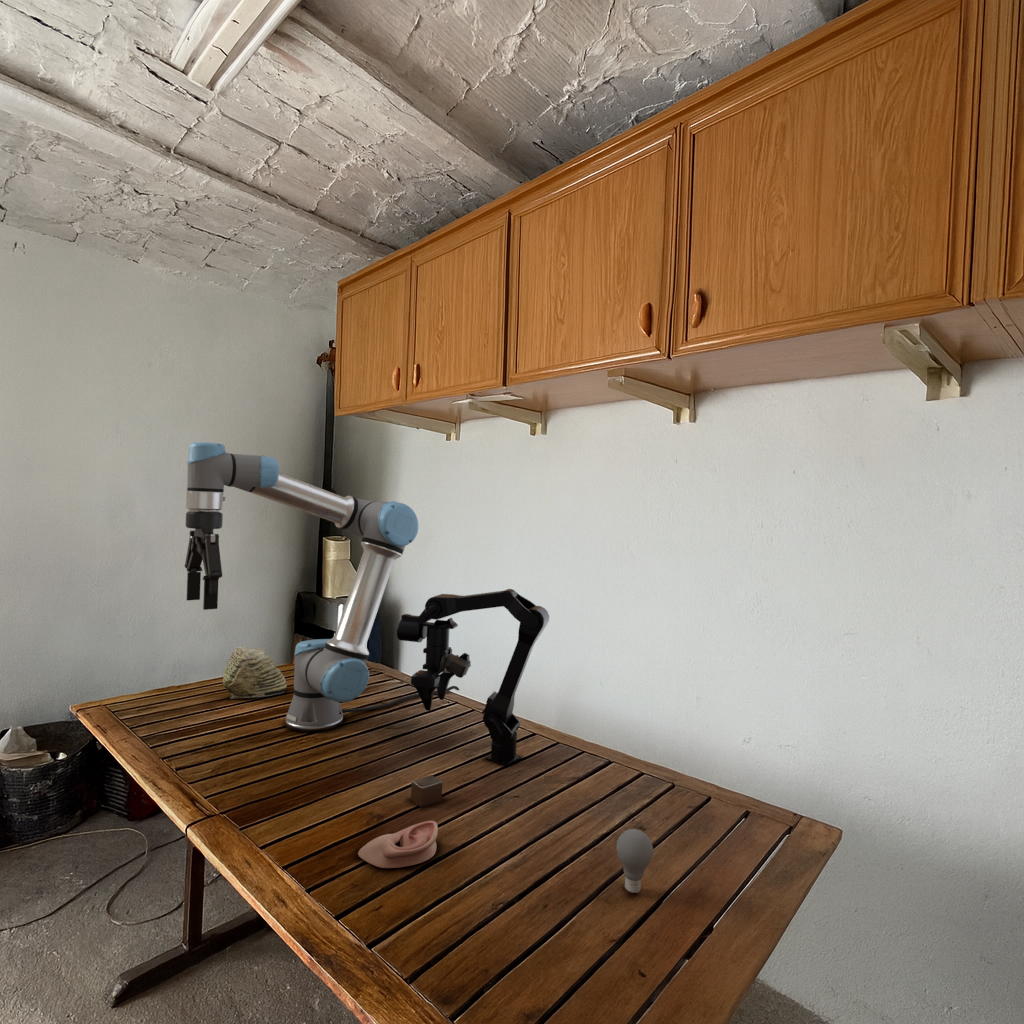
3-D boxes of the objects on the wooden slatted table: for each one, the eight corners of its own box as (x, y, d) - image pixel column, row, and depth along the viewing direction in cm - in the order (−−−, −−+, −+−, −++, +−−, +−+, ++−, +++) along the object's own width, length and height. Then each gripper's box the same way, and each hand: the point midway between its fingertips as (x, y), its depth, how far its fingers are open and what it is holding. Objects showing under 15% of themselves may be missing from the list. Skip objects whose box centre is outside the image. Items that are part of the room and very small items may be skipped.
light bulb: (610, 879, 108) (613, 822, 108) (644, 879, 109) (647, 822, 109) (619, 902, 102) (622, 840, 102) (655, 901, 103) (658, 840, 103)
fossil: (218, 695, 195) (220, 647, 195) (278, 685, 208) (279, 640, 207) (228, 703, 189) (230, 653, 188) (289, 692, 201) (290, 645, 201)
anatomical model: (350, 840, 110) (378, 809, 121) (349, 863, 110) (377, 829, 121) (423, 852, 107) (444, 819, 118) (422, 875, 107) (443, 840, 118)
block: (421, 807, 131) (422, 788, 131) (410, 800, 134) (411, 780, 134) (441, 800, 134) (442, 781, 134) (430, 793, 137) (431, 774, 137)
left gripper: (240, 513, 136) (236, 611, 137) (206, 509, 155) (203, 595, 156) (202, 513, 131) (199, 614, 132) (172, 508, 150) (169, 597, 151)
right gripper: (454, 655, 151) (451, 720, 151) (478, 640, 169) (476, 698, 169) (411, 650, 154) (408, 714, 154) (439, 635, 172) (437, 693, 172)
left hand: (201, 604), depth 144 cm, fingers open, 13 cm apart
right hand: (435, 704), depth 162 cm, fingers open, 9 cm apart
